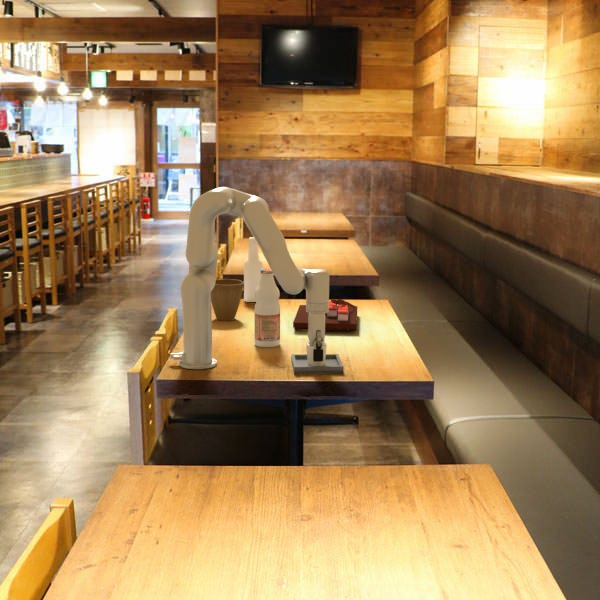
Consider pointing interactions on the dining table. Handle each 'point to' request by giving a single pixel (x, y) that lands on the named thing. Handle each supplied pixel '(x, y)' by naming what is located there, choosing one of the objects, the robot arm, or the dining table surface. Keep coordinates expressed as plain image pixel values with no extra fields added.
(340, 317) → the sushi
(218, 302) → the plant pot
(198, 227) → the robot arm
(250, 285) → the alcohol
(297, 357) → the serving tray
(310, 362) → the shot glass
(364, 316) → the dining table surface
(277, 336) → the fruit juice
